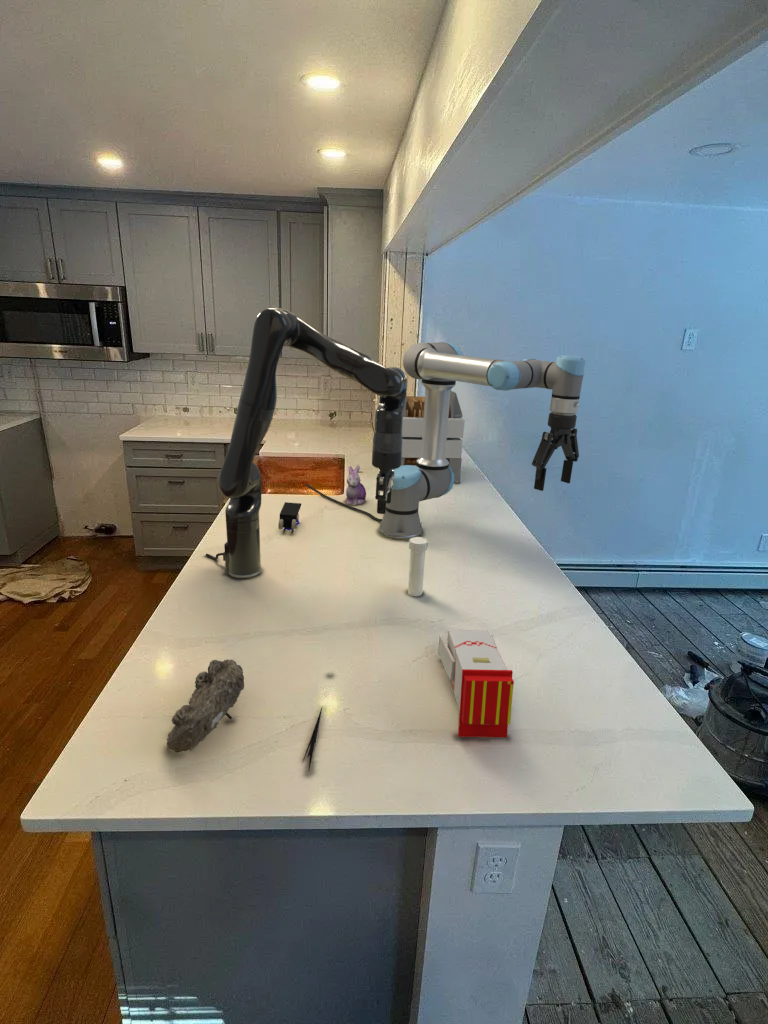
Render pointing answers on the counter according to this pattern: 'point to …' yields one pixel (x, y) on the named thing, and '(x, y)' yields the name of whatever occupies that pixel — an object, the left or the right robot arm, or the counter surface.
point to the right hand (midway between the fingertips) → (552, 485)
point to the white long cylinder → (416, 573)
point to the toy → (478, 682)
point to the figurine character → (289, 516)
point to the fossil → (206, 705)
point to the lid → (418, 544)
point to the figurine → (355, 488)
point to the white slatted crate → (414, 431)
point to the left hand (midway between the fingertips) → (384, 508)
